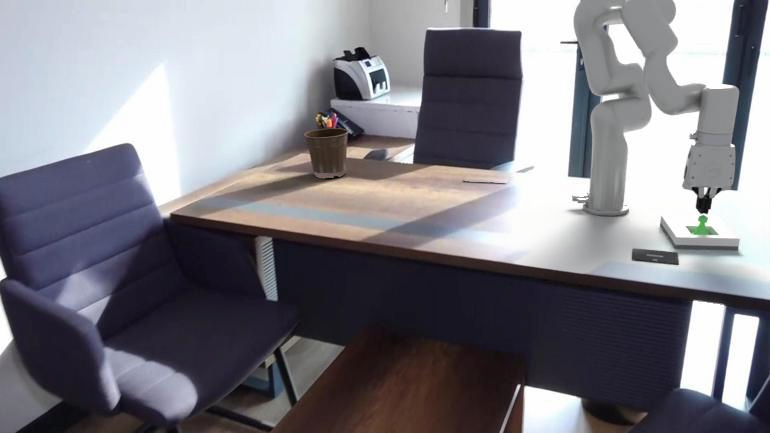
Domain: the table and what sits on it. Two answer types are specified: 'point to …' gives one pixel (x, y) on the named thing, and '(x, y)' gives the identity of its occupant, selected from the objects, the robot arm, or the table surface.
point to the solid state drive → (655, 256)
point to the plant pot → (327, 149)
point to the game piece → (701, 226)
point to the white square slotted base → (682, 238)
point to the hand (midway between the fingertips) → (702, 211)
